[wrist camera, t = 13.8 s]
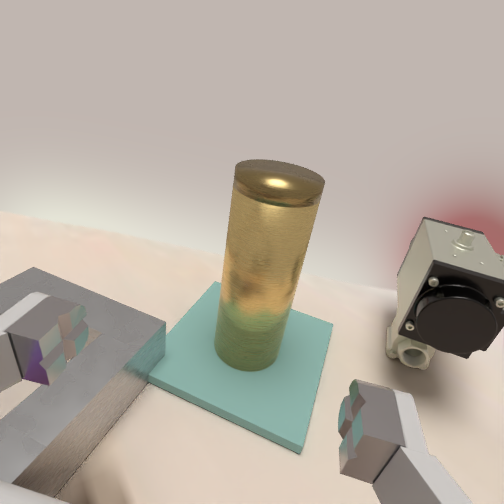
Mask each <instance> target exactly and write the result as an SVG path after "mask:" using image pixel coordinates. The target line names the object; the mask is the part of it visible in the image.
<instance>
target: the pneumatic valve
mask: <svg viewBox="0 0 504 504" xmlns="http://www.w3.org/2000/svg"><path fill="white" fill-rule="evenodd" d="M397 296H398V308H397V315H396V317H395V318H394V320H393V323H392V325H391V326H389V327H388V328H387V341H386V354H387V355H388V356H389V357H390V358H393V359H394V358H396V357H398V358H400V361H401V363H403V364H405V365H406V366H409V367H412V368H420V369H422V370H425V369H427V368H428V367H429V362H430V361H429V360H430V359H431V358H432V357H433V355H434V353H435V349H437V350H440V351H443V352H447V353H452V354H454V355H457V356H460V357H463V358H466V359H468V358H469V356H470V355H471V353H472V352H474V351H477V350H482V351H486V350H487V348H488V347H489V346H490V344H491V343H492V342H493V340H494V339H495V338H496V336H497V335H498V333H499V332H500V331H501V329H502V328H503V327H504V255H501V256H500V255H499V254H497V253H495V252H494V250H493V248H492V247H491V245H490V243H489V242H488V240H487V238H486V237H485V235H484V233H483V232H481V231H476V230H473V229H469V228H465V227H462V226H458V225H454V224H450V223H446V222H443V221H439V220H435V219H431V218H427V217H423V219H422V221H421V224H420V226H419V228H418V230H417V232H416V234H415V237H414V238H413V239H412V241H411V243H410V246H409V250H408V252H407V254H406V256H405V258H404V261H403V263H402V265H401V267H400V270H399V272H398V274H397Z"/></svg>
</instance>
